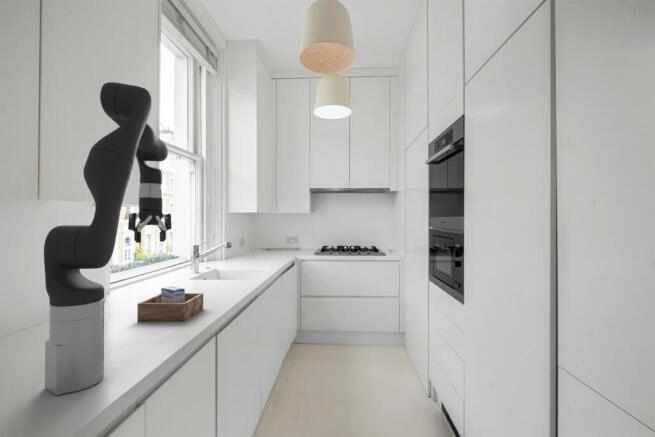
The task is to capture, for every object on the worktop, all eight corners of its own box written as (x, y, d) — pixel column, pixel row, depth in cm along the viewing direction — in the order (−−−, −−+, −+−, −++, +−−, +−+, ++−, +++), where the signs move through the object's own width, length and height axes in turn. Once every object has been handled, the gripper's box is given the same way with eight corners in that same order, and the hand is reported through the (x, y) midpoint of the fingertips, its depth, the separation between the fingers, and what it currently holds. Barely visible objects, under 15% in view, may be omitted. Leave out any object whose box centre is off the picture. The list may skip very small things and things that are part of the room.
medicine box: (160, 311, 119) (160, 287, 119) (171, 308, 122) (171, 285, 122) (173, 315, 114) (173, 290, 114) (185, 312, 118) (185, 288, 118)
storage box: (184, 321, 110) (184, 304, 110) (137, 321, 110) (137, 303, 111) (203, 308, 126) (203, 293, 126) (162, 308, 126) (162, 293, 127)
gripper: (135, 195, 109) (135, 243, 109) (175, 197, 121) (175, 241, 121) (124, 196, 114) (124, 242, 114) (164, 198, 125) (164, 240, 125)
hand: (150, 242), depth 117 cm, fingers open, 8 cm apart
